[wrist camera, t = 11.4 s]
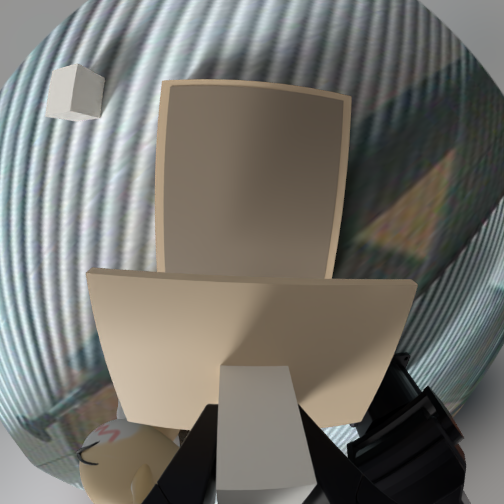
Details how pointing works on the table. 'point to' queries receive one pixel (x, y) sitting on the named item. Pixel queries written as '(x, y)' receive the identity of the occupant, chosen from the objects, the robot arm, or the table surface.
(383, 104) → the table surface
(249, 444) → the flap near
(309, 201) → the carton
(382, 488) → the robot arm
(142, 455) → the kitten
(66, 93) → the white block
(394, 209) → the table surface
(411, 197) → the table surface
